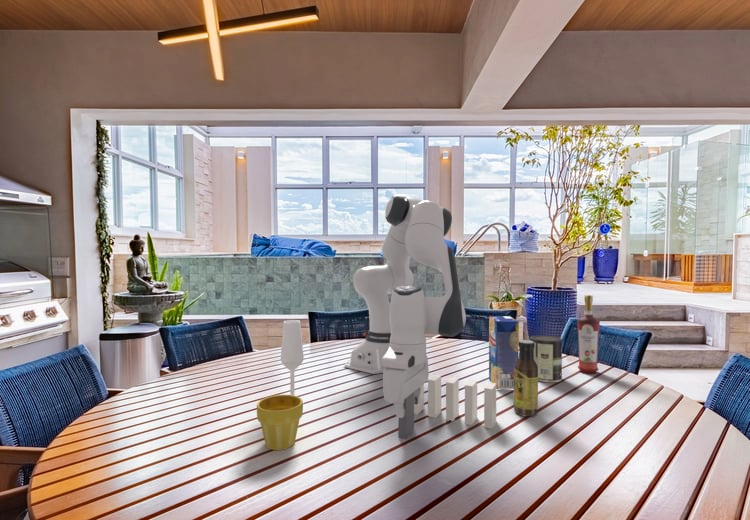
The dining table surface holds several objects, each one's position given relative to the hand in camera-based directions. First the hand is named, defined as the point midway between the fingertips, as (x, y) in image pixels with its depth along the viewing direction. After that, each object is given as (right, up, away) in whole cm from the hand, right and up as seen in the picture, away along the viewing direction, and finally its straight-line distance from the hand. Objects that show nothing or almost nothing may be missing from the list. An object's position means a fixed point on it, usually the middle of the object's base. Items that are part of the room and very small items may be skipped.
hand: (408, 409), depth 101 cm
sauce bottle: (+33, -6, +13) cm, 36 cm away
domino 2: (+4, -6, +15) cm, 16 cm away
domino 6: (+21, -6, +6) cm, 23 cm away
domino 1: (-1, -6, 0) cm, 6 cm away
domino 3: (+8, -6, +13) cm, 16 cm away
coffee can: (+52, -5, +44) cm, 68 cm away
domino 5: (+17, -6, +8) cm, 20 cm away
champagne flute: (-32, -6, +21) cm, 39 cm away
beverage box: (+34, -5, +37) cm, 51 cm away
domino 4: (+13, -6, +10) cm, 17 cm away
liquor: (+70, -5, +52) cm, 87 cm away
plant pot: (-30, -6, -5) cm, 31 cm away
